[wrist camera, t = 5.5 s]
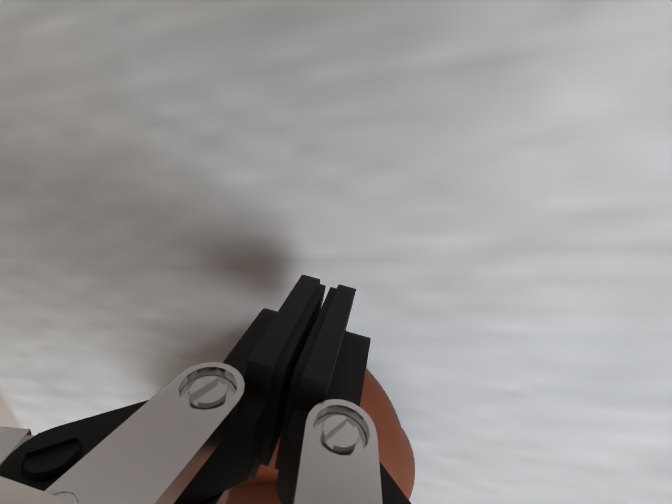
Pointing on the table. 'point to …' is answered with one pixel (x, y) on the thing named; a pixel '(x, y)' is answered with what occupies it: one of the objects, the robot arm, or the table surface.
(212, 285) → the table surface
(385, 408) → the poop emoji
